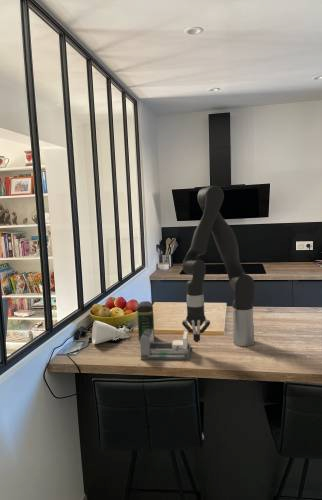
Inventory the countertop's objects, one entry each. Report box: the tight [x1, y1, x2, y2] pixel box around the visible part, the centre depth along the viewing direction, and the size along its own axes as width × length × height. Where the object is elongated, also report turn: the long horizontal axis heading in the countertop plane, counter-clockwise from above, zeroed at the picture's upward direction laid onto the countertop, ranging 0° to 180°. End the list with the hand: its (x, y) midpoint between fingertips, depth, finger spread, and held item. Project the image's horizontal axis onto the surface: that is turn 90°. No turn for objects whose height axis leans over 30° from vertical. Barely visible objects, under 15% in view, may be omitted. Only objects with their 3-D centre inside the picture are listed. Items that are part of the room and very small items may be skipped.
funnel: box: [91, 319, 130, 345], centre depth 187 cm, size 12×12×18 cm
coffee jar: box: [136, 301, 155, 341], centre depth 185 cm, size 10×8×19 cm
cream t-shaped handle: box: [171, 330, 189, 351], centre depth 166 cm, size 7×11×7 cm, turn 172°
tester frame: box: [139, 329, 192, 361], centre depth 168 cm, size 21×14×9 cm, turn 82°
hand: (196, 341), depth 166 cm, fingers closed
